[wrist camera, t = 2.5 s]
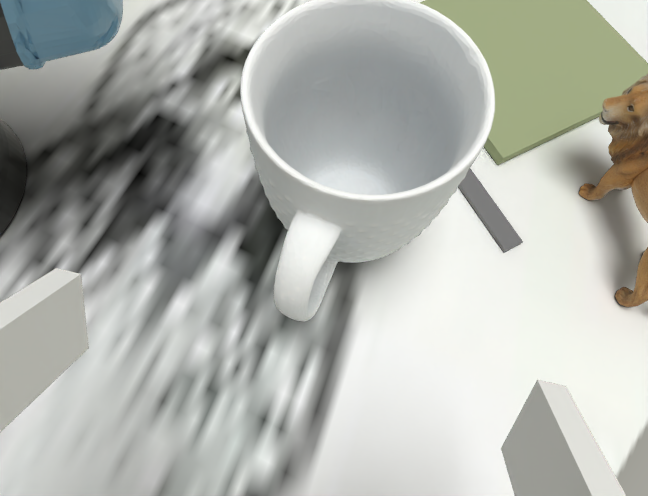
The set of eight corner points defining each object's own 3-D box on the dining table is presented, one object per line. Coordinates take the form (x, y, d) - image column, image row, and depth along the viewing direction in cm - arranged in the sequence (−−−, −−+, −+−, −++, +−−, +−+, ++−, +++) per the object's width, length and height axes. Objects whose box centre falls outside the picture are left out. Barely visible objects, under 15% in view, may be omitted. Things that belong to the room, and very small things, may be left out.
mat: (391, 22, 36) (393, 12, 35) (537, -34, 38) (542, -45, 37) (497, 165, 31) (503, 158, 30) (655, 89, 34) (665, 80, 33)
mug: (375, 367, 26) (429, 343, 14) (219, 303, 27) (139, 228, 15) (440, 176, 31) (524, 30, 18) (305, 128, 32) (299, -38, 19)
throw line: (354, 37, 35) (354, 34, 35) (369, 31, 35) (369, 28, 35) (503, 252, 29) (505, 251, 28) (521, 243, 29) (523, 242, 29)
